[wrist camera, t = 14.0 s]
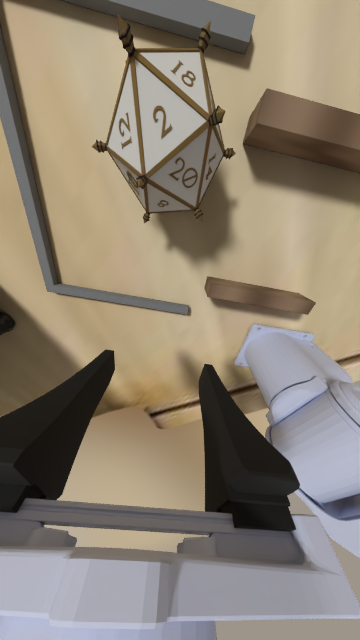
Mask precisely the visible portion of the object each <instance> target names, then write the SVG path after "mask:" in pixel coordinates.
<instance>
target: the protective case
mask: <svg viewBox="0 0 360 640" xmlns="http://www.w3.org/2000/svg"><path fill="white" fill-rule="evenodd" d="M14 325H15V322H14V320H13V319H12V318H11V317H10V316H8V315H6V314H4V313H1V312H0V335H1V334H3V333H5V332H8V331H10V330H12V329H13V328H14Z"/></svg>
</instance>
